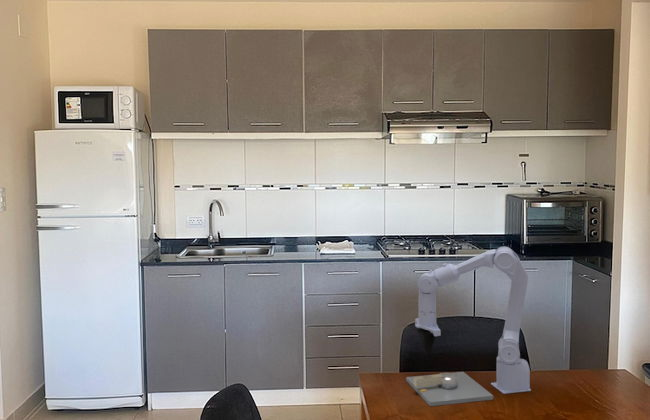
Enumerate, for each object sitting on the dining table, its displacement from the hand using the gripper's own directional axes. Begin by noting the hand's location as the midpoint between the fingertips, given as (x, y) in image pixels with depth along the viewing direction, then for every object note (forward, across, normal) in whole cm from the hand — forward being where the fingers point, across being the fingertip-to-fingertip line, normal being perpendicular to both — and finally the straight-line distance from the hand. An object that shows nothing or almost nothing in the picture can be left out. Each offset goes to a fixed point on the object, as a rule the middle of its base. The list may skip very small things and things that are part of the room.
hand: (427, 351), depth 178 cm
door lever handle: (+8, +9, -2) cm, 12 cm away
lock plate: (+9, +9, +2) cm, 13 cm away
